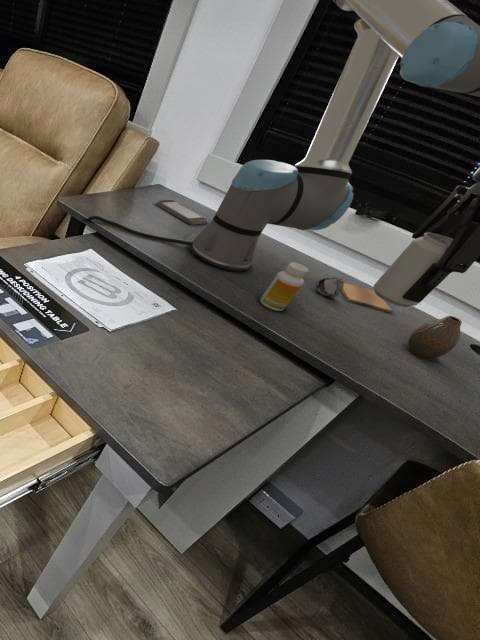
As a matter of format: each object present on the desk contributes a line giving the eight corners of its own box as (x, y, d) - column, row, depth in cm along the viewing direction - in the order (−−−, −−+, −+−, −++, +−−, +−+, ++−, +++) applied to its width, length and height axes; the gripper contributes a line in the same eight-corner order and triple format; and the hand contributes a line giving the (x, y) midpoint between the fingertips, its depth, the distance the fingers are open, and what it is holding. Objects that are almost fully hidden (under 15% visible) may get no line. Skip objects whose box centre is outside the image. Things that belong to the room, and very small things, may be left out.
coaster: (347, 300, 111) (349, 298, 111) (336, 282, 118) (337, 280, 118) (390, 312, 110) (392, 310, 109) (376, 293, 117) (378, 292, 117)
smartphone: (193, 221, 133) (156, 200, 142) (191, 224, 133) (155, 204, 142) (209, 219, 136) (172, 199, 145) (207, 223, 137) (171, 203, 146)
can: (366, 294, 85) (419, 234, 77) (373, 283, 90) (424, 226, 82) (411, 314, 82) (471, 254, 74) (416, 302, 86) (473, 244, 78)
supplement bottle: (287, 314, 101) (316, 275, 94) (263, 308, 101) (290, 269, 94) (279, 301, 105) (307, 263, 98) (256, 296, 105) (282, 258, 98)
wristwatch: (323, 298, 113) (320, 278, 113) (346, 294, 108) (343, 274, 108) (315, 300, 112) (312, 280, 112) (337, 297, 108) (334, 276, 107)
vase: (438, 354, 98) (475, 321, 92) (438, 367, 93) (476, 333, 88) (402, 338, 100) (435, 305, 95) (400, 350, 96) (434, 316, 90)
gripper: (596, 186, 61) (448, 323, 77) (511, 151, 76) (402, 271, 91) (535, 172, 62) (401, 310, 78) (463, 139, 77) (363, 261, 92)
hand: (402, 289), depth 84 cm, fingers closed on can, 7 cm apart
